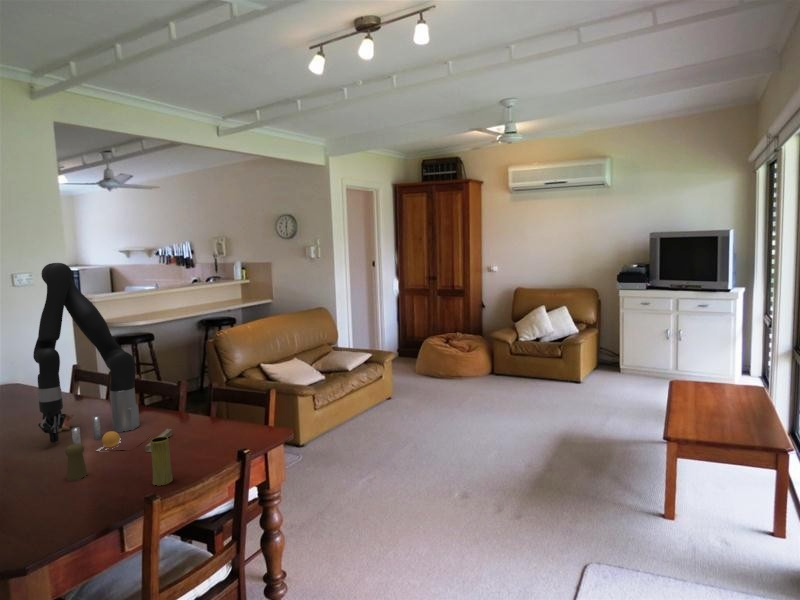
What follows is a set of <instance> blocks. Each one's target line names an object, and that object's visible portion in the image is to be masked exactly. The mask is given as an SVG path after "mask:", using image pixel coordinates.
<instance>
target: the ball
mask: <svg viewBox="0 0 800 600" xmlns="http://www.w3.org/2000/svg"><path fill="white" fill-rule="evenodd" d="M119 440H120V435H119V432H115V431H113V430H111V431H109V430H108V431H107V432H105V433H104V435H103V436H102V438H101V443H102V444H103V446H106V447H114V446H116V445H117V444H118V443H119Z"/></svg>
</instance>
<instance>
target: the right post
mask: <svg viewBox="0 0 800 600" xmlns="http://www.w3.org/2000/svg"><path fill="white" fill-rule="evenodd" d="M91 419H92V427H93V428H92V429H93V440H95V441H98V440H102V437H103V436H102V428H101V416H100V415H95V416H92V417H91Z"/></svg>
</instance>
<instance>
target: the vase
mask: <svg viewBox="0 0 800 600" xmlns="http://www.w3.org/2000/svg"><path fill="white" fill-rule="evenodd" d="M150 442H151V454H150V455H151V464H152V465H151V468H152V481H151V482H152V485H153V486H155V485H157V486H156V487H162V486H167V485H169V484H171V483H172V482H173V481H174V478H173V473H172V472H173V471H172V470H173V469H172V463H171V453H170V442H169V438H168V437H166V436H161V437H158V436H156V437H153V438H151V440H150ZM161 485H162V486H161Z"/></svg>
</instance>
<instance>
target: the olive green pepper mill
mask: <svg viewBox="0 0 800 600" xmlns="http://www.w3.org/2000/svg"><path fill="white" fill-rule="evenodd" d="M84 452H85V447H84V445H83V444H82V443H81V444H73V443H72V444H70V445H69V446H67V447H66V449H65V455H66V456H67V469H66V481H68V482H74V481H75V480H76V481H79V480H78V479H80V480H82V479H81V478H83V477H85V476H86V475H87V474H88V475H89V473H88V470H87V466H86V463H85V459H84V456H83V455H84ZM85 478H86V477H85ZM83 479H84V478H83ZM76 481H75V482H76Z"/></svg>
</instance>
